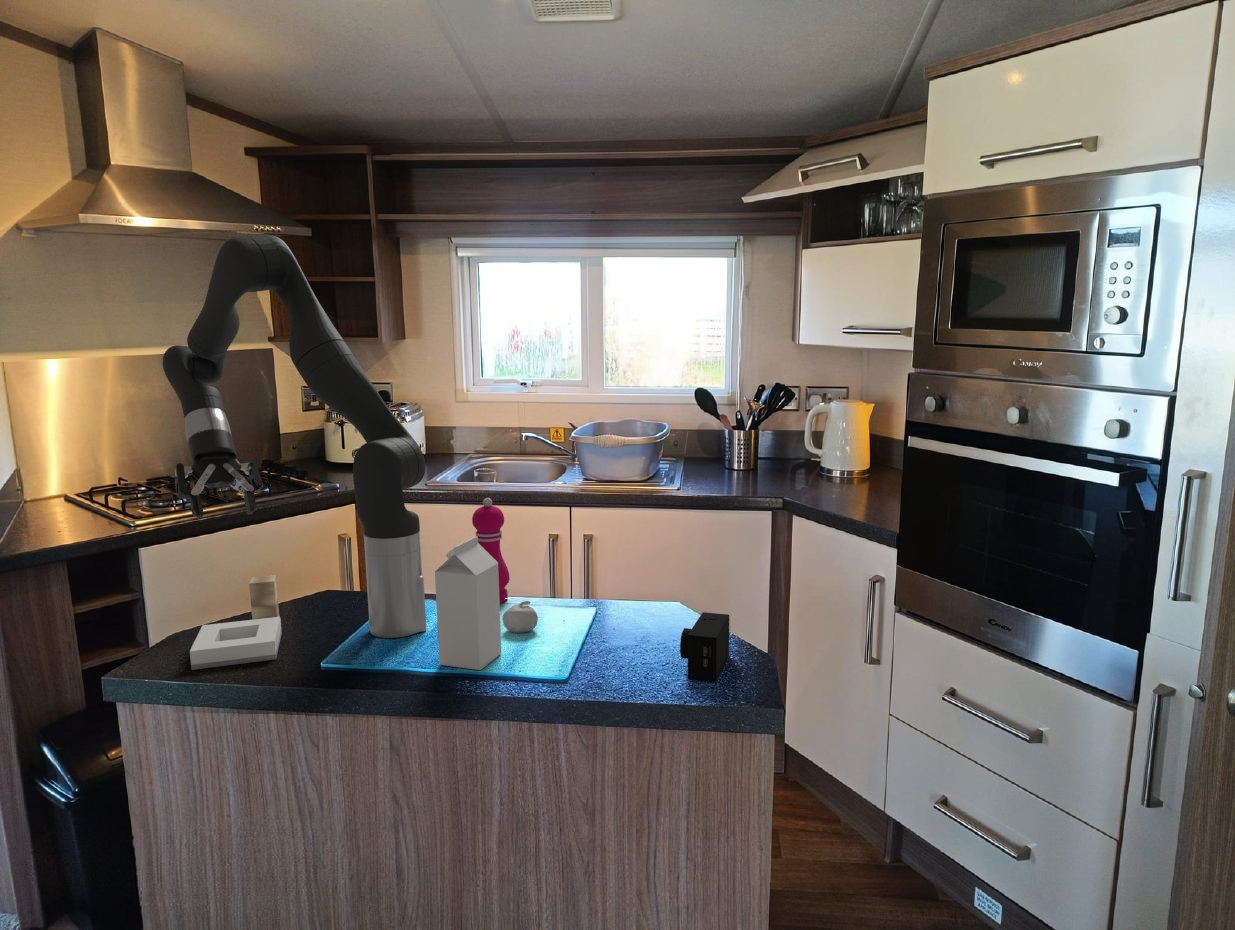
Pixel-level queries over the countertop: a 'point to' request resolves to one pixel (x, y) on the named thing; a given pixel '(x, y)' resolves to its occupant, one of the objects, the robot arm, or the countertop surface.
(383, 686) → the countertop surface
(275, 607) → the block
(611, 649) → the countertop surface
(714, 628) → the digital camera
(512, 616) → the garlic
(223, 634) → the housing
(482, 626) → the milk carton
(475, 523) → the pepper mill
